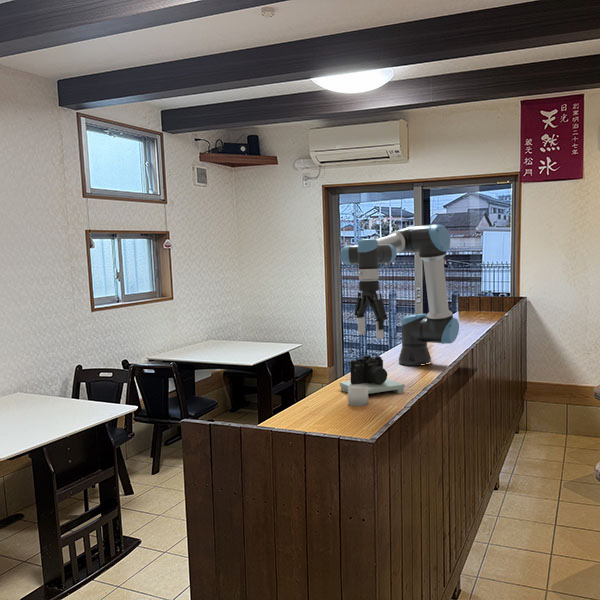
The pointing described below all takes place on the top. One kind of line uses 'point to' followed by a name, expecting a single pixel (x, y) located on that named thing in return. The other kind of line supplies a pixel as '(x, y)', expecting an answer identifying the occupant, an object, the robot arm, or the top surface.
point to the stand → (377, 386)
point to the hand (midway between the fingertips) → (370, 336)
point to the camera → (368, 370)
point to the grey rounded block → (358, 395)
